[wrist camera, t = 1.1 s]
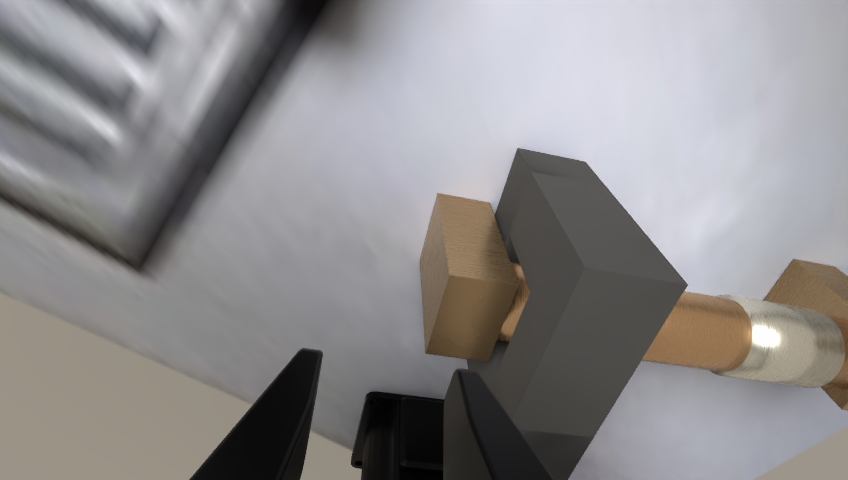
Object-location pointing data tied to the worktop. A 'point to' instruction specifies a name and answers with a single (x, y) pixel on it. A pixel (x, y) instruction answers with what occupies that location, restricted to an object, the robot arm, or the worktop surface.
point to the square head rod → (680, 334)
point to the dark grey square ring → (573, 305)
